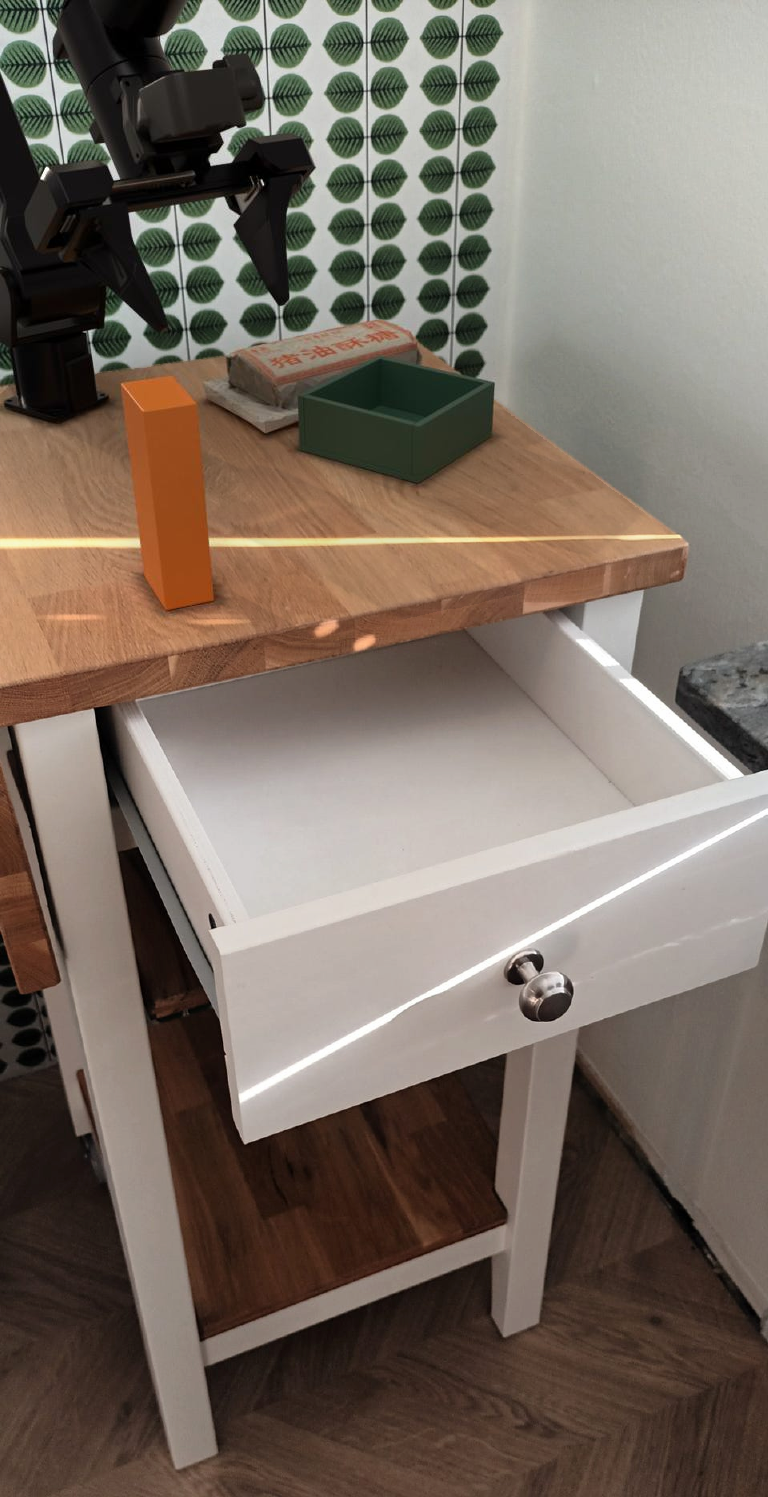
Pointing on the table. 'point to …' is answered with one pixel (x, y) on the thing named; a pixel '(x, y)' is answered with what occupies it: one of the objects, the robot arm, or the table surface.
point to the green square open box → (396, 417)
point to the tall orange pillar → (169, 490)
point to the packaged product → (302, 369)
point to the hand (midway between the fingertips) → (225, 316)
